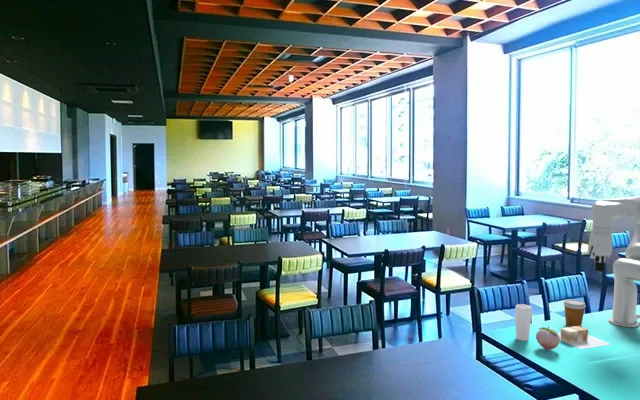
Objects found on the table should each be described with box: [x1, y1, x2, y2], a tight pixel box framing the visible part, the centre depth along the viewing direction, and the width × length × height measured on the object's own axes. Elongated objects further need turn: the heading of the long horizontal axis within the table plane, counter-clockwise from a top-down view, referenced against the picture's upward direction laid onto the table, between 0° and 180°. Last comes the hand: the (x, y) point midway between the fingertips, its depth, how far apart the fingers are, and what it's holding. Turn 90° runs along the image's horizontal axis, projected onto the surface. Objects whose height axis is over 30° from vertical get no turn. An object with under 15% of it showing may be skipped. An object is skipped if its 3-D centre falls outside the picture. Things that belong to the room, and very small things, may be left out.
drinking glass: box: [514, 303, 533, 342], centre depth 222 cm, size 7×7×15 cm
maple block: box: [560, 326, 589, 344], centre depth 221 cm, size 5×5×10 cm
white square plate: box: [557, 332, 612, 350], centre depth 222 cm, size 17×18×1 cm
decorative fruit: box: [535, 326, 561, 351], centre depth 211 cm, size 9×8×10 cm
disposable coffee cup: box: [563, 298, 587, 327], centre depth 239 cm, size 10×10×12 cm
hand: (599, 270), depth 229 cm, fingers closed
